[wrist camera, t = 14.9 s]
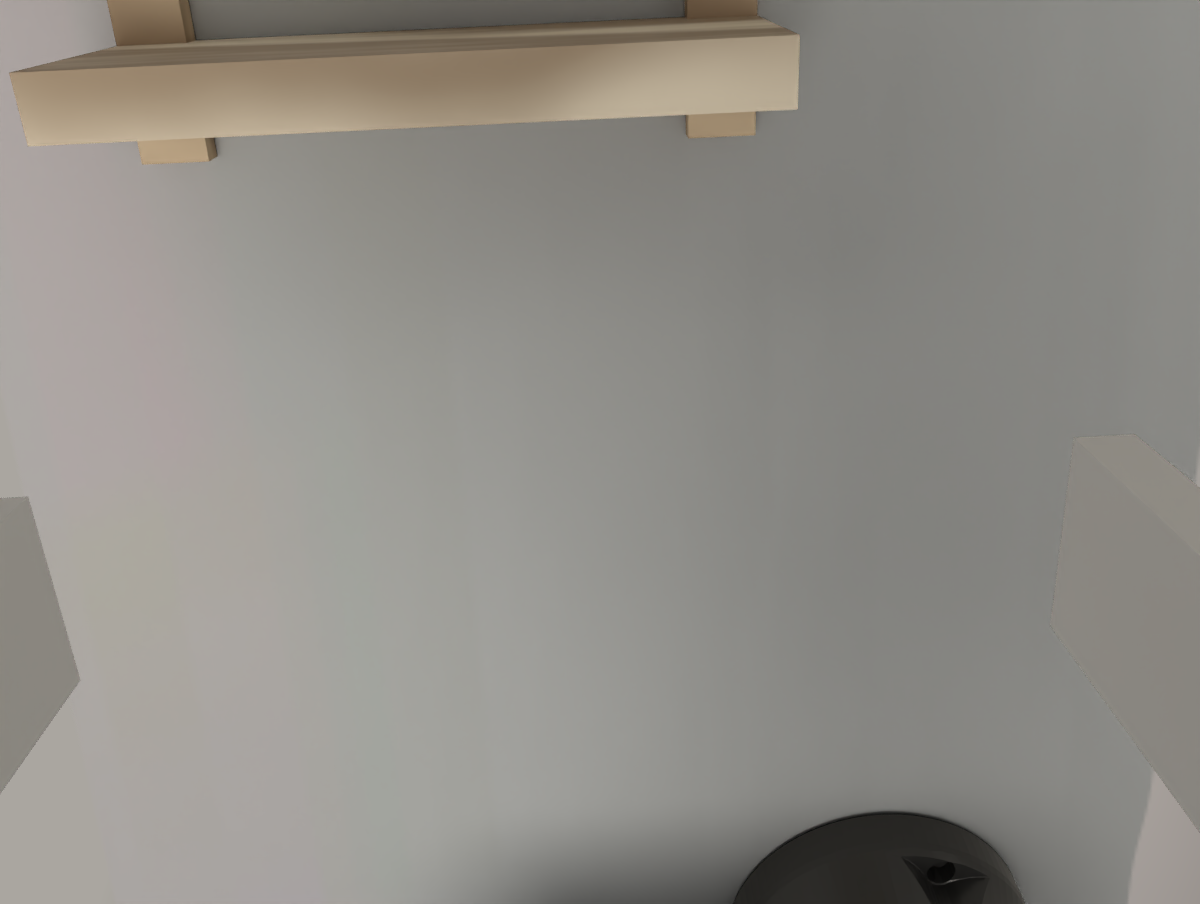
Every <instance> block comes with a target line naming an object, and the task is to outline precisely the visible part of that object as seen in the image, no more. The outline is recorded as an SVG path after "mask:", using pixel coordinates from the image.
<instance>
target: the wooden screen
mask: <svg viewBox="0 0 1200 904" xmlns="http://www.w3.org/2000/svg"><path fill="white" fill-rule="evenodd" d="M107 3H108V8H109V12H110V17H111V21H112V26H113V31H114V35H115V40H116V45H117V46H116V47H112V48H108V49H104V50H100V51H96V52H92V53H88V54H83V55H79V56H75V57H71V58H67V59H63V60H59V61H55V62H51V63H47V64H43V65H39V66H35V67H31V68H27V69H23V70H19V71H15V72H11V73H9V74H10V78H11V82H12V86H13V90H14V94H15V98H16V102H17V105H18V109H19V113H20V117H21V121H22V125H23V129H24V133H25V137H26V141H27V144H28V146H46V145H67V144H88V143H109V142H129V141H137V142H138V147H139V152H140V156H141V161H142V164H163V163H184V162H205V161H210V160H212V159H214V158H215V157H217V152H216V147H215V141H214V137H234V136H255V135H276V134H297V133H317V132H338V131H359V130H380V129H401V128H422V127H443V126H464V125H485V124H505V123H526V122H547V121H568V120H589V119H610V118H631V117H652V116H672V115H686V135H687V137H688V138H706V137H727V136H748V135H755V125H756V111H777V110H798V81H799V49H800V35H799V34H797V33H794V32H792V31H790V30H788V29H786V28H783V27H781V26H779V25H777V24H775V23H772V22H770V21H768V20H766V19H764V18H761V17H759V16H757V0H685V17H673V18H652V19H631V20H610V21H590V22H569V23H548V24H527V25H506V26H485V27H464V28H443V29H423V30H402V31H381V32H360V33H339V34H318V35H297V36H276V37H256V38H235V39H214V40H196V39H195V34H194V29H193V23H192V18H191V12H190V7H189V2H188V0H107Z"/></svg>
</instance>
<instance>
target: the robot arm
mask: <svg viewBox="0 0 1200 904" xmlns="http://www.w3.org/2000/svg"><path fill="white" fill-rule="evenodd" d="M1050 627H1051V628H1052V629H1053V631H1054V632H1055V634H1056V635H1057V636H1058V638H1059V639H1060V640H1061V642H1062V643H1063V645H1064V646H1065V647H1066V649H1067V650H1068V652H1069V653H1070V654H1071V656H1072V657H1073V658H1074V660H1075V661H1076V663H1077V664H1078V665H1079V667H1080V668H1081V669H1082V671H1083V672H1084V674H1085V675H1086V676H1087V678H1088V679H1089V681H1090V682H1091V683H1092V685H1093V686H1094V687H1095V689H1096V690H1097V692H1098V693H1099V694H1100V696H1101V697H1102V698H1103V700H1104V701H1105V703H1106V704H1107V705H1108V707H1109V708H1110V709H1111V711H1112V712H1113V714H1114V715H1115V716H1116V718H1117V719H1118V721H1119V722H1120V723H1121V725H1122V726H1123V727H1124V729H1125V730H1126V732H1127V733H1128V734H1129V736H1130V737H1131V738H1132V740H1133V741H1134V743H1135V744H1136V745H1137V747H1138V748H1139V750H1140V751H1141V752H1142V754H1143V755H1144V756H1145V758H1146V759H1147V761H1148V762H1149V763H1150V765H1151V766H1152V767H1153V769H1154V770H1155V772H1156V773H1157V774H1158V776H1159V777H1160V778H1161V780H1162V781H1163V783H1164V784H1165V785H1166V787H1167V788H1168V790H1169V791H1170V792H1171V794H1172V795H1173V796H1174V798H1175V799H1176V800H1177V802H1178V803H1179V805H1180V806H1181V807H1182V808H1183V810H1184V812H1185V813H1186V814H1187V816H1188V817H1189V819H1190V820H1191V821H1192V823H1193V824H1194V825H1195V827H1196V828H1197V829H1198V831H1199V832H1200V488H1199V487H1198V486H1197V485H1196V484H1195V483H1193V482H1192V481H1191V480H1190V479H1189V478H1187V477H1186V476H1185V475H1184V474H1183V473H1181V472H1180V471H1179V470H1178V469H1177V468H1175V467H1174V466H1173V465H1172V464H1170V463H1169V462H1168V461H1167V460H1166V459H1164V458H1163V457H1162V456H1161V455H1160V454H1158V453H1157V452H1156V451H1155V450H1153V449H1152V448H1151V447H1150V446H1149V445H1147V444H1146V443H1145V442H1144V441H1143V440H1141V439H1140V438H1139V437H1138V436H1137V435H1135V434H1129V435H1112V436H1094V437H1076V438H1074V439H1073V447H1072V455H1071V463H1070V471H1069V479H1068V487H1067V495H1066V503H1065V511H1064V519H1063V527H1062V535H1061V543H1060V551H1059V559H1058V567H1057V575H1056V583H1055V591H1054V599H1053V607H1052V614H1051V622H1050ZM79 681H80V677H79V674H78V670H77V667H76V663H75V660H74V656H73V653H72V649H71V646H70V642H69V638H68V635H67V632H66V628H65V624H64V621H63V617H62V614H61V610H60V607H59V603H58V600H57V596H56V593H55V589H54V586H53V582H52V579H51V575H50V572H49V568H48V565H47V561H46V558H45V554H44V551H43V547H42V544H41V540H40V537H39V533H38V530H37V526H36V523H35V519H34V516H33V512H32V509H31V505H30V502H29V498H28V497H15V498H14V497H12V498H0V794H1V792H2V791H3V789H4V788H5V786H6V785H7V784H8V782H9V781H10V779H11V778H12V777H13V775H14V774H15V772H16V771H17V769H18V768H19V767H20V765H21V764H22V762H23V761H24V759H25V758H26V757H27V755H28V754H29V752H30V751H31V750H32V748H33V747H34V745H35V744H36V742H37V741H38V740H39V738H40V736H41V735H42V734H43V732H44V731H45V730H46V728H47V727H48V725H49V724H50V722H51V721H52V720H53V718H54V717H55V715H56V714H57V713H58V711H59V710H60V708H61V707H62V705H63V704H64V703H65V701H66V700H67V698H68V697H69V696H70V694H71V693H72V691H73V690H74V688H75V687H76V686H77V684H78V683H79ZM734 904H1025V902H1024V900H1023V898H1022V896H1021V893H1020V891H1019V889H1018V887H1017V885H1016V883H1015V880H1014V878H1013V876H1012V874H1011V872H1010V870H1009V869H1008V867H1007V865H1006V864H1005V863H1004V861H1003V860H1002V859H1001V857H1000V856H999V855H998V854H997V853H996V852H995V851H994V850H993V849H992V848H991V847H990V846H989V845H987V844H986V843H985V842H984V841H982V840H981V839H979V838H978V837H976V836H975V835H973V834H971V833H969V832H968V831H965V830H963V829H961V828H959V827H957V826H954V825H951V824H949V823H946V822H942V821H939V820H935V819H931V818H925V817H920V816H911V815H897V814H892V815H871V816H863V817H857V818H852V819H847V820H843V821H839V822H835V823H832V824H829V825H826V826H823V827H820V828H817V829H815V830H813V831H810V832H808V833H806V834H804V835H802V836H800V837H798V838H796V839H794V840H792V841H791V842H789V843H787V844H786V845H784V846H783V847H781V848H780V849H778V850H777V851H776V852H774V853H773V854H772V855H770V856H769V857H768V858H767V859H766V860H765V861H764V862H762V863H761V864H760V865H759V866H758V867H757V868H756V869H755V871H754V872H753V873H752V874H751V875H750V876H749V878H748V879H747V881H746V882H745V883H744V885H743V886H742V888H741V890H740V891H739V893H738V895H737V897H736V899H735V902H734Z"/></svg>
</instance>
